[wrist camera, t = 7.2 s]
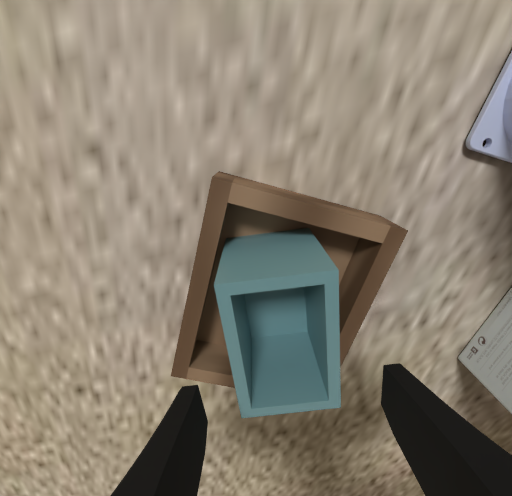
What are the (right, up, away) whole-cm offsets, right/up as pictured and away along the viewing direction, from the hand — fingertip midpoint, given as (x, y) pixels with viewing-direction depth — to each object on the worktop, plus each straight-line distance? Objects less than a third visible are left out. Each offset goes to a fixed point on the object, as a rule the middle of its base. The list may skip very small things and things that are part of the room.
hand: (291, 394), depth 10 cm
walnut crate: (0, +3, +8) cm, 9 cm away
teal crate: (0, +3, +8) cm, 8 cm away
